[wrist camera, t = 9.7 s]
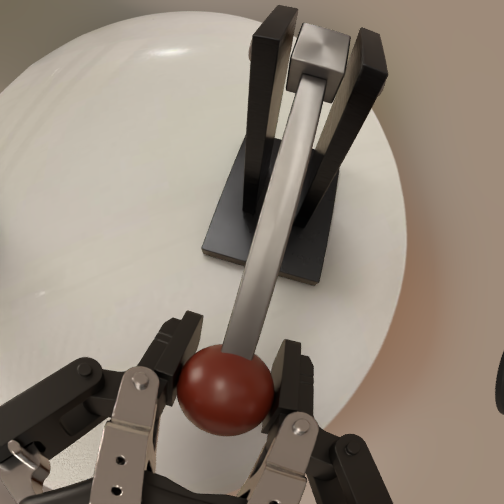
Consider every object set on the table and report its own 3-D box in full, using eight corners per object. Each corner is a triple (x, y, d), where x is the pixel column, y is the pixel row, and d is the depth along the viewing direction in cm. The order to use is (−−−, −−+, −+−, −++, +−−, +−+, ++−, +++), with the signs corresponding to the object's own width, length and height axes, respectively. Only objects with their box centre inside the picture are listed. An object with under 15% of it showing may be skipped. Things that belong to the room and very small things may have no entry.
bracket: (314, 286, 21) (453, 174, 6) (203, 254, 21) (146, 85, 6) (336, 165, 25) (405, 27, 10) (246, 139, 25) (257, -15, 10)
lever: (258, 415, 11) (258, 464, 7) (182, 393, 11) (156, 435, 7) (349, 76, 11) (369, 32, 8) (282, 57, 12) (287, 9, 8)
